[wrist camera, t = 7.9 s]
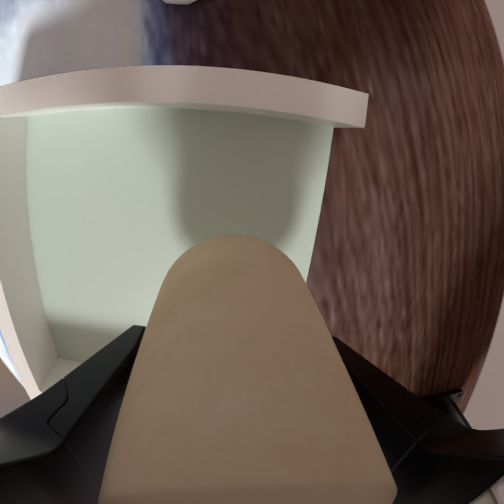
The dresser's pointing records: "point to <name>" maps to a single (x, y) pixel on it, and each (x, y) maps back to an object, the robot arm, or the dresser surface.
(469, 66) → the dresser surface
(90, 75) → the box
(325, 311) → the dresser surface
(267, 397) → the candle
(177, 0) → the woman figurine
